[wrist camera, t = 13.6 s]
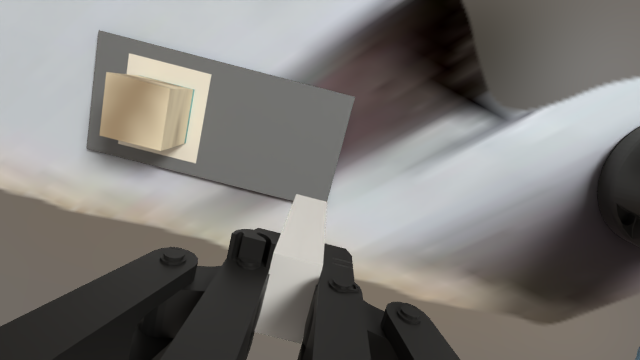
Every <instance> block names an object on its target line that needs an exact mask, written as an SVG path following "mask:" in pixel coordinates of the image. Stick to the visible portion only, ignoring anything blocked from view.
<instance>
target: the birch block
mask: <svg viewBox="0 0 640 360" xmlns="http://www.w3.org/2000/svg"><path fill="white" fill-rule="evenodd" d="M193 96H194V89H190V88H186V87H183V86H179V85H175V84H171V83H167V82H163V81H159V80H156V79H152V78H148V77H144V76H139V75H130V74H120V73H111V72H106V80H105V89H104V99H103V108H102V117H101V126H100V136H104V137H108V138H112V139H116V140H119V141H123V142H127V143H131V144H135V145H139V146H143V147H147V148H151V149H155V150H159V151H162V150H166V149H169V148H172V147H175V146H178V145H181V144H184V143H186V138H187V132H188V126H189V120H190V114H191V108H192V102H193Z"/></svg>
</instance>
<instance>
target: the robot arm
mask: <svg viewBox="0 0 640 360" xmlns="http://www.w3.org/2000/svg"><path fill="white" fill-rule="evenodd" d="M598 204H599V208H600V211H601V214H602V216H603V218H604V220H605V222H606V223H607V225H608V226H609V227H610V229H611V230H612V231H613V232H614V233H616V234H617V235H618V236H619V237H621V238H622V239H624V240H626V241H628V242H630V243H632V244H634V245H636V246H638V247H640V127H639V128H637V129H636V130H634V131H633V132H631V133H630V134H629V135H628V136H626V137H625V138H624V139H623V140H622V141H621V142H620V143H619V144H618V145H617V146H616V148H615V149H614V150H613V151H612V153H611V154H610V156H609V157H608V159H607V161H606V163H605V165H604V167H603V169H602V172H601V175H600V179H599V184H598ZM326 214H327V202H326V201H322V200H318V199H314V198H310V197H306V196H302V195H298V194H296V196H295V199H294V201H293V204H292V207H291V209H290V212H289V214H288V217H287V219H286V222H285V225H284V227H283V230H282V232H281V233H277V232H273V231H269V230H265V229H261V228H257V229H255V230H252V229H241V230H236V231H235V232H233V233H232V235H231V240H230V245H229V250H228V255H227V259H226V260H225V262H224V263H223V265H222V266H216V267H205V266H197V263H198V258H197V257H196V255H195V254H193V253H192V252H190V251H188V250H184V249H182V248H177V247H176V248H175V247H169V248H161V249H158V250H155V251H152V252H150V253H148V254H146V255H144V256H142V257H140V258H138V259H136V260H134V261H132V262H130V263H128V264H126V265H124V266H122V267H120V268H118V269H116V270H114V271H112V272H110V273H108V274H106V275H104V276H102V277H100V278H98V279H96V280H94V281H92V282H90V283H88V284H86V285H83V286H81V287H79V288H77V289H75V290H74V291H72V292H69V293H67V294H65V295H63V296H61V297H59V298H57V299H55V300H53V301H51V302H49V303H47V304H45V305H43V306H41V307H39V308H37V309H35V310H33V311H31V312H29V313H27V314H25V315H23V316H21V317H19V318H17V319H15V320H13V321H11V322H9V323H7V324H5V325H3V326H1V327H0V360H246V359H247V356H248V353H249V350H250V347H251V344H252V340H253V336H254V332H256V333H260V334H264V335H268V336H272V337H277V338H281V339H285V340H288V341H293V342H297V343H301V342H302V339H303V342H302V345H301V349H300V353H299V356H298V360H460V359H459V357H458V356H457V355H456V353H455V352H454V351H453V349H452V348H451V347H450V345H449V344H448V343H447V342H446V340H445V339H444V337H443V336H442V335H441V333H440V332H439V330H438V329H437V328H436V326H435V325H434V324H433V322H432V321H431V320H430V318H429V317H428V316H427V315H426V314H425V313H424V312H422V311H421V310H419V309H418V308H417V307H415V306H413V305H411V304H408V303H402V302H391V303H389V304H388V305H387V307H386V309H385V311H382V310H380V309H378V308H376V307H374V306H372V305H370V304H368V303H367V302H365V301H364V300H363V297H362V291H361V289H360V287H359V286H358V285H357V284H356V283H355V282H354V273H353V264H352V256H351V254H350V253H349V252H348V251H347V250H346V249H344V248H340V247H336V246H332V245H328V244H324V243H325V228H326ZM303 336H304V337H303ZM635 360H640V347H639V349H638V352H637V357H636V358H635Z"/></svg>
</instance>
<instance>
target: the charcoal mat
mask: <svg viewBox="0 0 640 360" xmlns="http://www.w3.org/2000/svg"><path fill="white" fill-rule="evenodd" d="M106 72H111V73H120V74H130V75H139V76H144V77H148V78H152V79H156V80H159V81H163V82H167V83H171V84H175V85H179V86H183V87H186V88H190V89H194V96H193V102H192V108H191V114H190V120H189V126H188V132H187V138H186V143H184V144H181V145H178V146H175V147H172V148H169V149H166V150H162V151H159V150H155V149H151V148H147V147H143V146H139V145H135V144H131V143H127V142H123V141H119V140H116V139H112V138H108V137H104V136H100V126H101V117H102V108H103V99H104V89H105V80H106ZM354 99H355V97H353V96H349V95H345V94H342V93H338V92H334V91H330V90H326V89H322V88H319V87H315V86H311V85H307V84H303V83H299V82H296V81H292V80H288V79H284V78H280V77H276V76H272V75H269V74H265V73H261V72H257V71H253V70H249V69H246V68H242V67H238V66H234V65H230V64H226V63H222V62H219V61H215V60H211V59H207V58H203V57H199V56H196V55H192V54H188V53H184V52H180V51H176V50H173V49H169V48H165V47H161V46H157V45H153V44H149V43H146V42H142V41H138V40H134V39H130V38H126V37H123V36H119V35H115V34H111V33H107V32H103V31H100V30H99V32H98V42H97V52H96V62H95V72H94V81H93V91H92V101H91V111H90V121H89V130H88V140H87V149H90V150H94V151H98V152H102V153H106V154H110V155H114V156H118V157H121V158H125V159H129V160H133V161H137V162H141V163H145V164H149V165H153V166H157V167H161V168H165V169H169V170H173V171H177V172H181V173H185V174H188V175H192V176H196V177H200V178H204V179H208V180H212V181H216V182H220V183H224V184H228V185H232V186H236V187H240V188H244V189H248V190H252V191H255V192H259V193H263V194H267V195H271V196H275V197H279V198H283V199H287V200H291V201H294V199H295V196H296V194H298V195H302V196H306V197H310V198H314V199H318V200H322V201H326V202H327V199H328V196H329V192H330V188H331V184H332V181H333V177H334V173H335V169H336V166H337V162H338V158H339V155H340V151H341V147H342V143H343V140H344V136H345V132H346V129H347V125H348V121H349V117H350V114H351V110H352V106H353V102H354Z"/></svg>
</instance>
